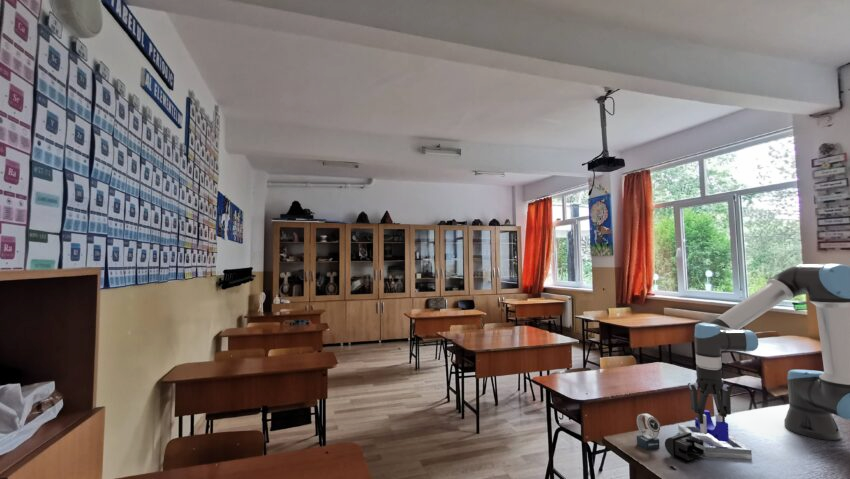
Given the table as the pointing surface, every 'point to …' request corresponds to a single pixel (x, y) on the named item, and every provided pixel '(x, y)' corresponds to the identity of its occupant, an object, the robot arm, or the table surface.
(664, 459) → the table surface
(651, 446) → the watch
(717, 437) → the cable clip
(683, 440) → the end cap
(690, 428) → the grey tray
